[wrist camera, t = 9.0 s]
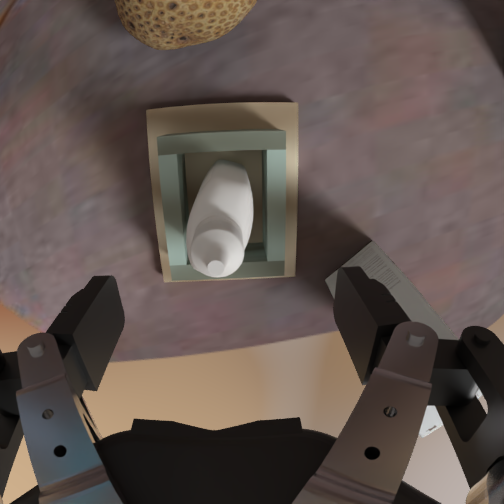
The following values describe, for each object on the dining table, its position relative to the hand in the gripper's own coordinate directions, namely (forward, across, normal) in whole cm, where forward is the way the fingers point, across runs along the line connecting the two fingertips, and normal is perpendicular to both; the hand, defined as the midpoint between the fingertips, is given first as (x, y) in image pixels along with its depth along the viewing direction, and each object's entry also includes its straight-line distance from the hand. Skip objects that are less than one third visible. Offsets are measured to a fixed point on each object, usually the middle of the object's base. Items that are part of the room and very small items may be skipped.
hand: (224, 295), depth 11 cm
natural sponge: (+15, +2, -15) cm, 21 cm away
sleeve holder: (+15, 0, 0) cm, 15 cm away
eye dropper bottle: (+14, +1, 0) cm, 14 cm away
